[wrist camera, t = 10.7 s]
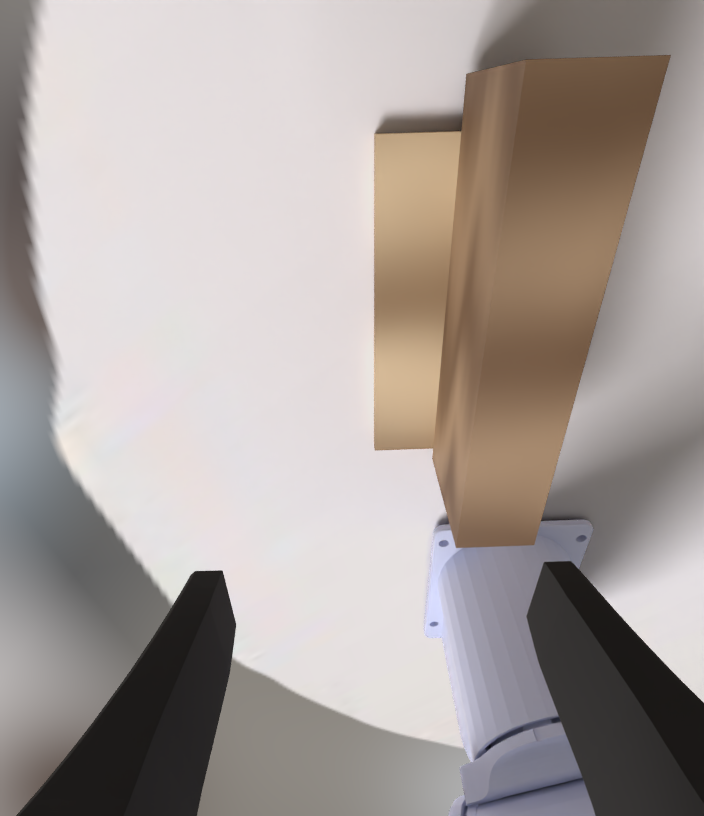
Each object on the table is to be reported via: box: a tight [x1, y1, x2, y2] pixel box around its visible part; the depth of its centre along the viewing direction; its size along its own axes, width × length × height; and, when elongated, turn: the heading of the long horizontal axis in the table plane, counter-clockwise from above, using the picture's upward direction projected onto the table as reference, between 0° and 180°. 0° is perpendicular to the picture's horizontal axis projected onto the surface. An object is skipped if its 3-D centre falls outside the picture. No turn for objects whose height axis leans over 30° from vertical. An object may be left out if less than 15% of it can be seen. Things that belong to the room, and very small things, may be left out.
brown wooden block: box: [432, 55, 671, 548], centre depth 15 cm, size 14×3×5 cm, turn 2°
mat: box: [374, 131, 461, 450], centre depth 17 cm, size 12×8×1 cm, turn 2°
